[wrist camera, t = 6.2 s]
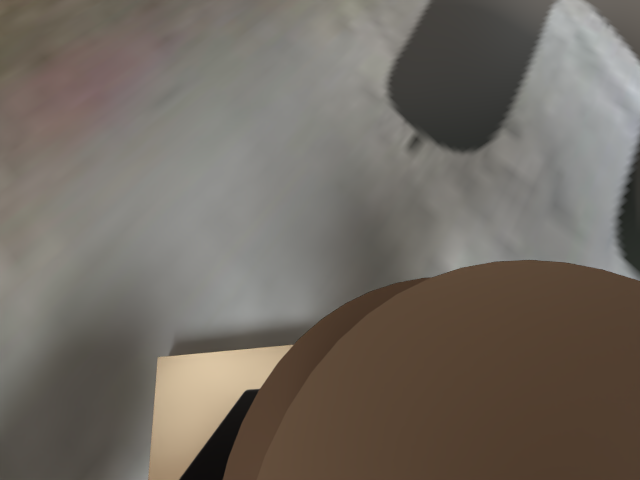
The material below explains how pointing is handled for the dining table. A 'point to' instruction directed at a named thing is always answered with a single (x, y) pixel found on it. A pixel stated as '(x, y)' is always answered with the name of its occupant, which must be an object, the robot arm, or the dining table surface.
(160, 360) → the board
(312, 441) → the pepper mill
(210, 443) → the robot arm
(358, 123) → the dining table surface
